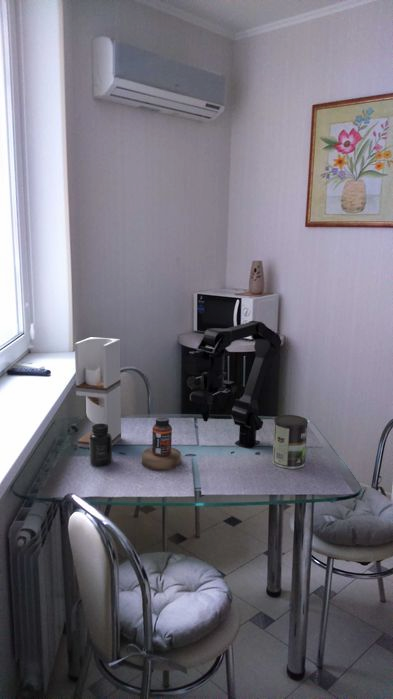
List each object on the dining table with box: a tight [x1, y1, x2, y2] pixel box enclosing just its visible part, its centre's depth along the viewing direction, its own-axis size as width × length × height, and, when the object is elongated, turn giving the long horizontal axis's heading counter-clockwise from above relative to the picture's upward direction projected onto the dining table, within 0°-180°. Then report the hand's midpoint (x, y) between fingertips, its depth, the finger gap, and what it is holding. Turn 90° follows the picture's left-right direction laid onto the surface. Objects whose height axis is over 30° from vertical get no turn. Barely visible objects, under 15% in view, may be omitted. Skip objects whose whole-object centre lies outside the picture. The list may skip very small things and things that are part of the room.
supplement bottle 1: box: [89, 423, 113, 468], centre depth 168 cm, size 7×7×12 cm
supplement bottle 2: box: [151, 416, 173, 456], centre depth 168 cm, size 6×6×11 cm
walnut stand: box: [141, 446, 182, 472], centre depth 170 cm, size 12×12×3 cm
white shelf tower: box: [74, 336, 122, 449], centre depth 182 cm, size 11×11×35 cm
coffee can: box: [271, 414, 309, 470], centre depth 171 cm, size 10×10×14 cm
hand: (213, 417), depth 173 cm, fingers open, 9 cm apart
